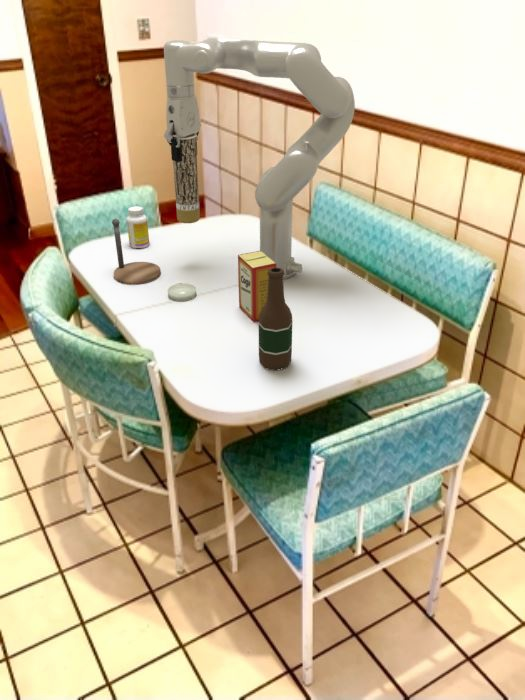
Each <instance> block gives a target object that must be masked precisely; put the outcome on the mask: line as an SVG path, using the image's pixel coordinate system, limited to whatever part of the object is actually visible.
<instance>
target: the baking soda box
mask: <svg viewBox="0 0 525 700" xmlns="http://www.w3.org/2000/svg"><path fill="white" fill-rule="evenodd" d="M275 267H276V263H275V262H274V261H272V260H271V259H270V258H269V257H267V256H266V255H265V254H264V253H263V252H261V251H260V250H258V251H252V252H251V251H250V252H247V253H246V252H245V253H241V254H238V255H237V271H238V273H237V274H238V275H237V276H238V279H237V280H238V305H239V306H238V308H239V309H240V310H241V311H242V312H243V313H244V314H245V315H246V317H248V319H249V320H251V321H252V323H259V314H260V312H261V309H262V308H263V306H264V305H265V304H266V300H267V293H268V278H269V276H268V275H267V273H268V270H269V269H270V268H275Z"/></svg>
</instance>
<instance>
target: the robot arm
mask: <svg viewBox="0 0 525 700" xmlns="http://www.w3.org/2000/svg"><path fill="white" fill-rule="evenodd" d="M163 54H164V55H163V57H164V72H165V83H166V85H165V87H166V115H165V116H166V119H165V120H166V130H165V133H164V134H163V137H164V138H165V140H166V141H167V143H168V144H169V145H168V146H169V147H170V152H171V153H170V154H171V155H170V156H171V161H172V162H173V161H178V162H181V161H182V150H181V147H180V142H181V137H186V136H189V135H192V134H195V136H196V153H197V154H198V143H197V142H198V139H199V138H198V136H199V133H200V131H201V127H202V124H201V121H200V120H201V119H200V111H199V103H198V100H197V95H196V94H195V93H196V92H195V90H196V89H195V75H194V73H198V74H202V75H203V74H210V73H212V72H213V71H215V70H216V69H222V70H223V69H224V70H225V69H227V70H237V71H238V70H239V71H245V72H248V73H249V74H251V75H253V76H255V77H259V78H277V79H278V78H279V79H280V78H281V79H289V80H290V81H291V83H292V84H293V85H294V86H295V87H296V89H297V90H298V91H299V92H300V93H301V94H302V95H303V97H304V98H306V100H307V101H308V102H309V103H310V104H311V105H312V106H313V108H315V110H317V111H318V113H320V114H319V116H318V118H317V119H316V120H315V121H314V122H313V123H312V125H311V126H310V127H309V128H308V129H307V130H306V131H305V132H304V133H303V135H301V136H300V137H299V138H298V139H297V141H295V142H294V143H293V144H292V145H290V146H289V147H288V149H287V150H286V152H285V154H284V156H282V158H281V159H280V160H279V161H278V162H277V164H275V166H273V167H269V168H268V169H266V170H265V171H264V172H263V173H262V174H261V177H260V178H259V180H258V182H257V185H256V187H255V191H254V198H255V199H254V200H255V202H256V204H257V206H258V207H259V251H261V252H263V253H264V254H265V255H266V256H267V257H269V258H270V259H271V260H272V261H274V262H275V263H276V268H281V269H282V270H284V275H283V280H285V279H288V278H290V277H292V276H294V275H296V273H298V274H302V272H303V264H302V263H300V262H299V263H298V262H295V257H294V256H292V247H293V246H292V241H293V240H292V239H293V238H292V237H293V234H292V233H293V209H294V208H293V205H294V198H296V196H297V195H299V193H301V191H302V190H303V189H305V187H306V186H307V185H308V184H310V182H311V181H312V180H313V179H314V177H315V176H316V174H317V171H318V168H319V165H320V164H321V162H322V161H323V160H324V159H325V158H326V157H327V156H328V155H329V154H330V153H331V152H332V151H333V149H334V148H335V147H336V146H337V145H338V144H339V143H340V142H341V141H342V139H344V137H345V136H346V134H347V132H348V131H349V129H350V127H351V125H352V123H353V119H354V115H355V107H356V105H355V103H356V102H355V95H354V91H353V88H352V86H351V84H350V83H349V82H348V80H347V79H346V78H344V77H341V76H334V75H333V73H332V72H331V71H330V70H329V69H328V68H327V67H326V66H325V65H324V63H323V62H322V57H321V53H320V51H319V49H318V48H317V47H316V45H313V44H311V43H308V42H307V43H306V42H293V41H291V42H290V41H289V42H288V41H270V40H269V41H265V40H249V39H238V38H237V39H235V38H220V37H219V38H217V37H216V38H215V37H214V38H212V37H211V38H207V39H204V40H202V41H199V42H193V43H191V42H190V41H186V40H168V41H166V42H165V43H164V44H163ZM176 134H177V135H176ZM174 138H177V141H175V139H174Z"/></svg>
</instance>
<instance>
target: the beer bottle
mask: <svg viewBox="0 0 525 700" xmlns="http://www.w3.org/2000/svg"><path fill="white" fill-rule="evenodd" d="M267 275H268V276H269V278H268V293H267V300H266V304H265V305H264V306H263V308H262V309H261V312H260V314H259V321H258V362H259V363H260V364H261V365H262V367H263V368H264V369H266V368H268V369H267V370H271V369H274V370H273V371H279V370H278V369H280V370H282V369H281V368H284V369H286V368H285V367H287V368H288V366H289V365H290V363H291V361H292V357H293V356H292V354H293V353H292V351H293V349H292V348H293V314H292V311H291V308H290V307H289V305H287V303H286V300H285V287H284V279H283V275H284V270H282V269H281V268H276V267H275V268H270V269H269V270H268V273H267Z"/></svg>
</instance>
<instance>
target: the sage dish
mask: <svg viewBox="0 0 525 700" xmlns="http://www.w3.org/2000/svg"><path fill="white" fill-rule="evenodd" d="M196 296H197V287H196V286H195V285H194V284H191V283H175V284H173V285H171V286H169V287H168V288H167V297H168V299H169V300H171V301H174V302H187V301H191V300H193V299H194V298H195V297H196Z"/></svg>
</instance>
